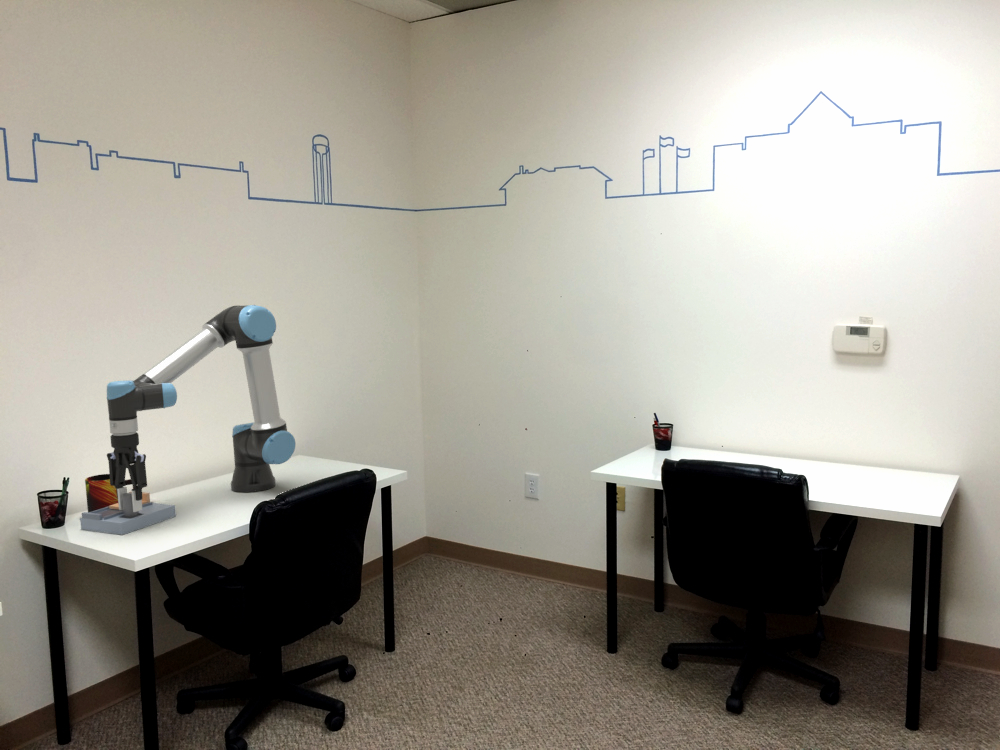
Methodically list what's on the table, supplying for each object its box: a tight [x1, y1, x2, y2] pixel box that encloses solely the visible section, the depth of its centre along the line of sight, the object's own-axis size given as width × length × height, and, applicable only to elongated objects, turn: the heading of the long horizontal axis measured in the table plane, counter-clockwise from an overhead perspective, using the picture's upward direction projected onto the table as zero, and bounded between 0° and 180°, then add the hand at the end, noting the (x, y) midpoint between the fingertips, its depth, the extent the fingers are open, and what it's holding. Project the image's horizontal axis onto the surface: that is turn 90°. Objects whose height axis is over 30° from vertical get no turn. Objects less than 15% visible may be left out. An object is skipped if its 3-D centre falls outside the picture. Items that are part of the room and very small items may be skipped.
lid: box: [109, 491, 151, 510], centre depth 247 cm, size 9×7×3 cm
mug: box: [84, 473, 132, 513], centre depth 254 cm, size 10×14×12 cm
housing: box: [79, 501, 177, 536], centre depth 242 cm, size 20×17×5 cm
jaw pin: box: [122, 491, 139, 519], centre depth 238 cm, size 4×4×10 cm
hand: (130, 509), depth 238 cm, fingers open, 5 cm apart
